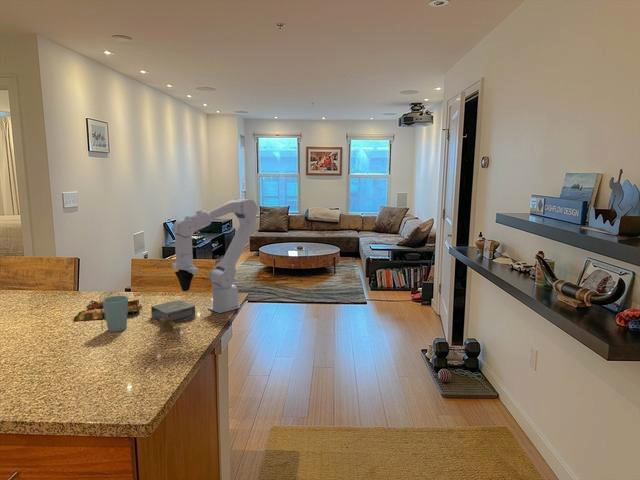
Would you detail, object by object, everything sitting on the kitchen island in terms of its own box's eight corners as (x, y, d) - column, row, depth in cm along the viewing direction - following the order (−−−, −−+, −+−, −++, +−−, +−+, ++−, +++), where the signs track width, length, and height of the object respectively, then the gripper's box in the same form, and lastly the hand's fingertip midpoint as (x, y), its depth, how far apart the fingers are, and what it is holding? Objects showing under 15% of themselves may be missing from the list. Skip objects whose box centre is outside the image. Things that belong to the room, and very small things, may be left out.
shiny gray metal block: (179, 310, 154) (179, 299, 154) (195, 317, 147) (195, 305, 147) (151, 317, 146) (151, 306, 146) (166, 325, 139) (166, 313, 138)
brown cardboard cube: (168, 327, 136) (167, 316, 136) (173, 330, 134) (172, 318, 134) (160, 330, 134) (159, 318, 134) (164, 332, 132) (163, 321, 132)
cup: (129, 331, 133) (127, 300, 132) (103, 334, 130) (101, 303, 128) (130, 323, 140) (128, 294, 138) (105, 326, 137) (103, 297, 135)
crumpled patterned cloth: (146, 303, 163) (146, 295, 163) (137, 320, 145) (137, 310, 145) (86, 307, 158) (85, 298, 158) (69, 325, 140) (68, 315, 140)
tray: (178, 309, 153) (178, 303, 152) (192, 315, 146) (192, 309, 146) (156, 314, 146) (155, 308, 146) (170, 321, 140) (169, 315, 139)
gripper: (163, 252, 146) (165, 288, 148) (184, 257, 136) (186, 296, 138) (181, 249, 151) (182, 285, 153) (203, 255, 141) (204, 292, 143)
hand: (185, 290), depth 146 cm, fingers closed
